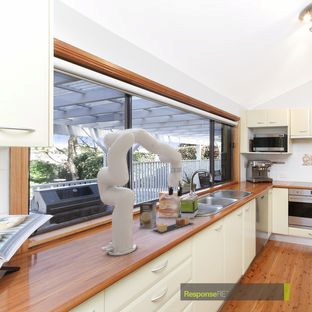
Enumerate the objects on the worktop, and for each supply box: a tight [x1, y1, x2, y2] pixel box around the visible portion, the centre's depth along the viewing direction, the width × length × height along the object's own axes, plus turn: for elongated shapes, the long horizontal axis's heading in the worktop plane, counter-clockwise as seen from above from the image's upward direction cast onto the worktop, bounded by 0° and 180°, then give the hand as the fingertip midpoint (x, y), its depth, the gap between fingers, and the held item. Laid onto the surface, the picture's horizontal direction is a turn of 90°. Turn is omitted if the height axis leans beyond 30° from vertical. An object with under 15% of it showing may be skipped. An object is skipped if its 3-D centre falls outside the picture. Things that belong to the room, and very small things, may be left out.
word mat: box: [152, 217, 194, 235], centre depth 146 cm, size 26×10×4 cm, turn 142°
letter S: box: [175, 217, 184, 226], centre depth 149 cm, size 4×4×4 cm
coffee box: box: [139, 201, 158, 229], centre depth 147 cm, size 9×6×16 cm
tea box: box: [180, 195, 199, 219], centre depth 175 cm, size 15×10×15 cm
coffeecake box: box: [158, 190, 181, 219], centre depth 173 cm, size 15×7×20 cm, turn 88°
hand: (175, 195), depth 148 cm, fingers open, 9 cm apart
